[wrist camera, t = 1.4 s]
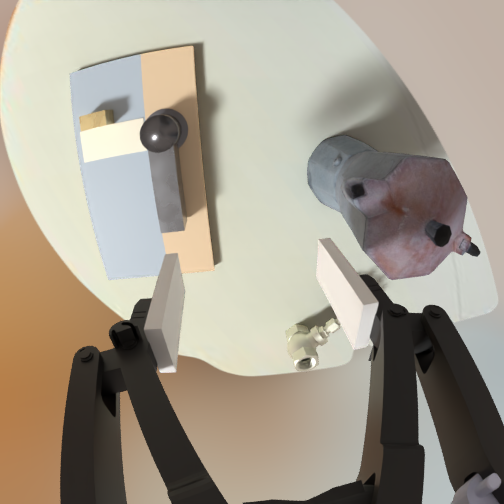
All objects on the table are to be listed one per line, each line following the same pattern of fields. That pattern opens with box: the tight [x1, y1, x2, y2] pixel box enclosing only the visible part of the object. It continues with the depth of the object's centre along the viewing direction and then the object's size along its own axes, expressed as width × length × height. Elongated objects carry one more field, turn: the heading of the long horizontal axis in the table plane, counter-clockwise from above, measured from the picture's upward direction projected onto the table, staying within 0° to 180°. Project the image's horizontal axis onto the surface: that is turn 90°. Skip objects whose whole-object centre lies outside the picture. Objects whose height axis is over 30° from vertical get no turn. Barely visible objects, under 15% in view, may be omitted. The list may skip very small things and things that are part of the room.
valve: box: [286, 318, 340, 372], centre depth 40 cm, size 7×7×12 cm
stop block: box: [79, 109, 115, 131], centre depth 25 cm, size 2×3×2 cm, turn 93°
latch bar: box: [140, 114, 187, 233], centre depth 28 cm, size 12×4×4 cm, turn 3°
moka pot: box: [307, 135, 480, 280], centre depth 24 cm, size 10×15×20 cm, turn 75°
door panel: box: [70, 46, 214, 280], centre depth 30 cm, size 26×14×1 cm, turn 3°
